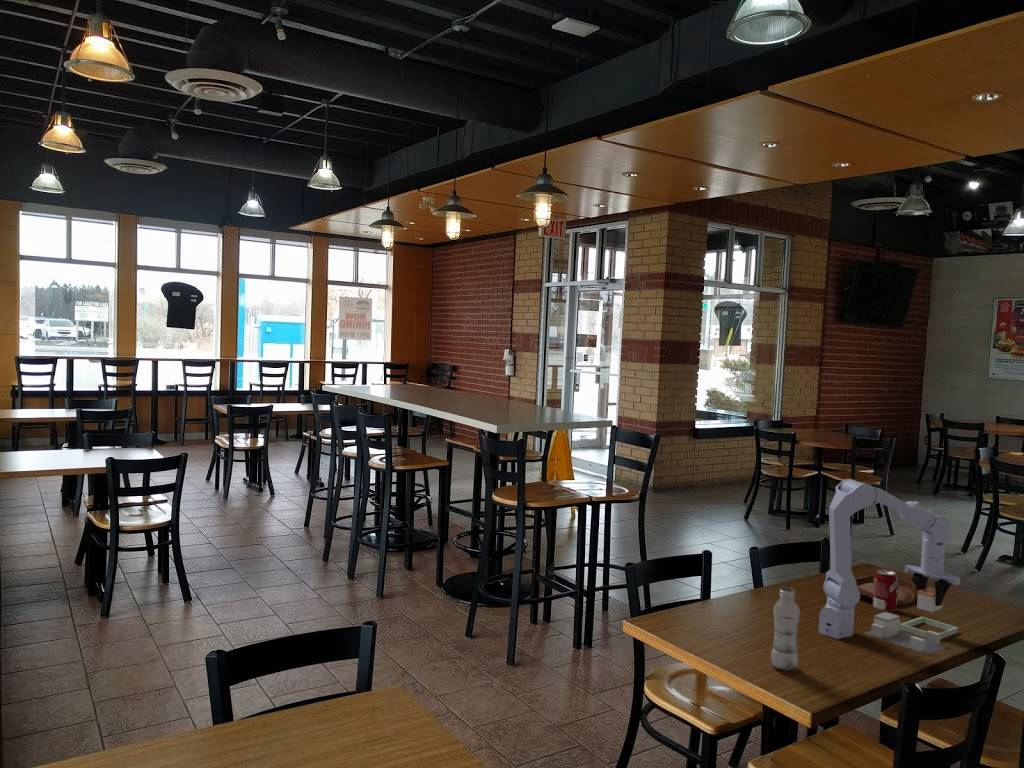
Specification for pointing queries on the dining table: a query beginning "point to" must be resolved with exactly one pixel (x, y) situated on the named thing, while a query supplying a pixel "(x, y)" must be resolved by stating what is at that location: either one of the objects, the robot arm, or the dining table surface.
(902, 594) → the basket
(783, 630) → the plastic bottle
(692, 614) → the dining table surface
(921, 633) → the tray
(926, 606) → the block
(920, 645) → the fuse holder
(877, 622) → the block
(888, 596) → the soda can
